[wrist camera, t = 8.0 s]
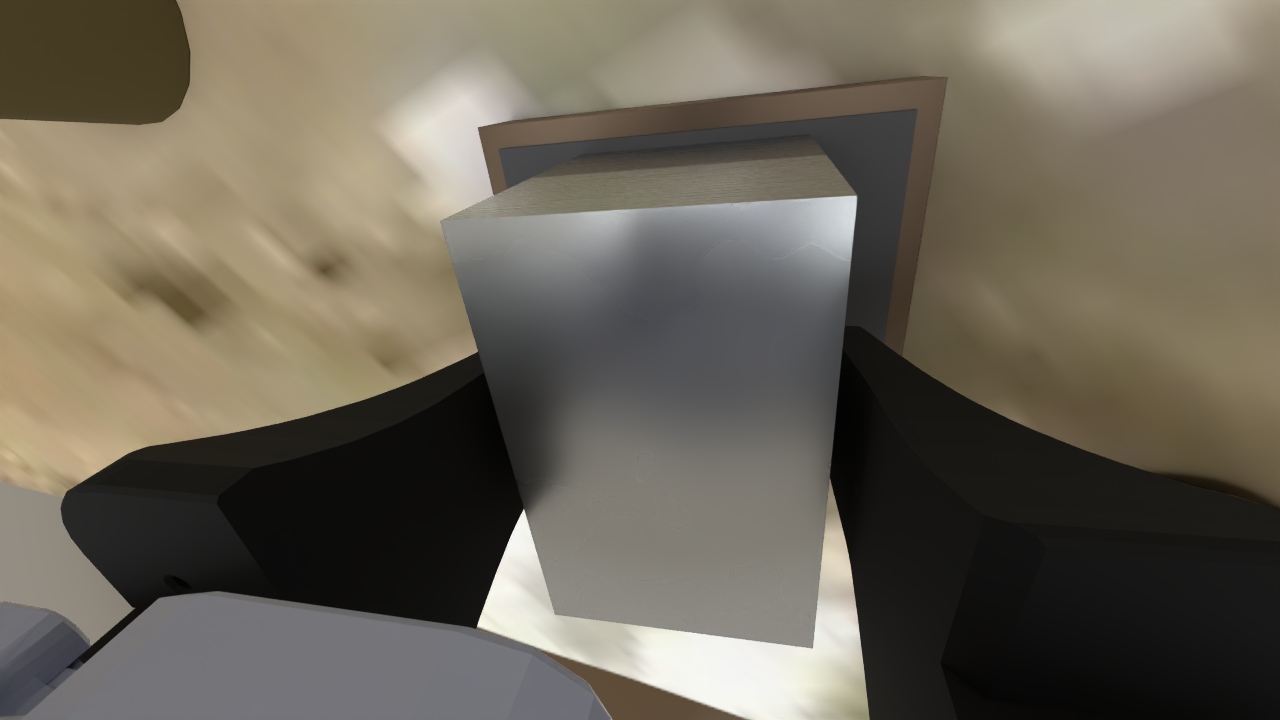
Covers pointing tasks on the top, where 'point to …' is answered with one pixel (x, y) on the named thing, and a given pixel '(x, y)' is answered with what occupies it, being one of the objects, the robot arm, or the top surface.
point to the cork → (92, 60)
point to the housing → (669, 375)
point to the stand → (834, 116)
